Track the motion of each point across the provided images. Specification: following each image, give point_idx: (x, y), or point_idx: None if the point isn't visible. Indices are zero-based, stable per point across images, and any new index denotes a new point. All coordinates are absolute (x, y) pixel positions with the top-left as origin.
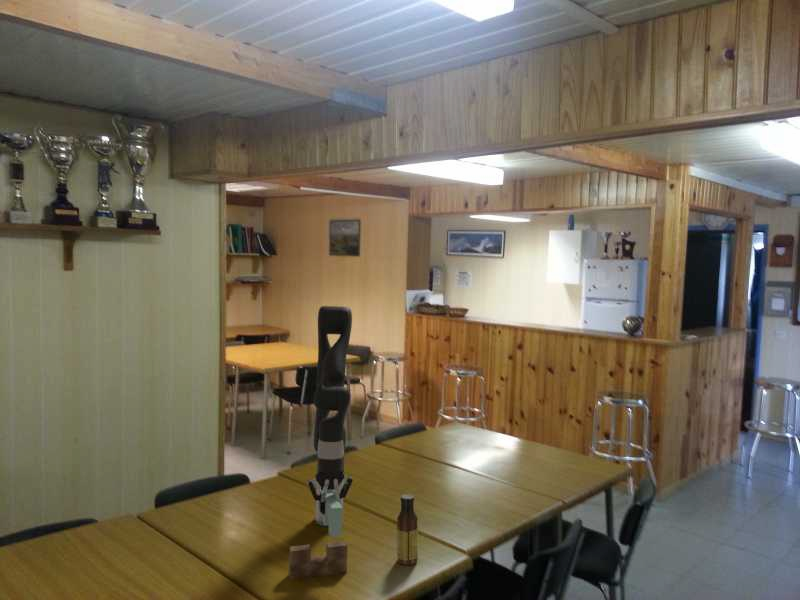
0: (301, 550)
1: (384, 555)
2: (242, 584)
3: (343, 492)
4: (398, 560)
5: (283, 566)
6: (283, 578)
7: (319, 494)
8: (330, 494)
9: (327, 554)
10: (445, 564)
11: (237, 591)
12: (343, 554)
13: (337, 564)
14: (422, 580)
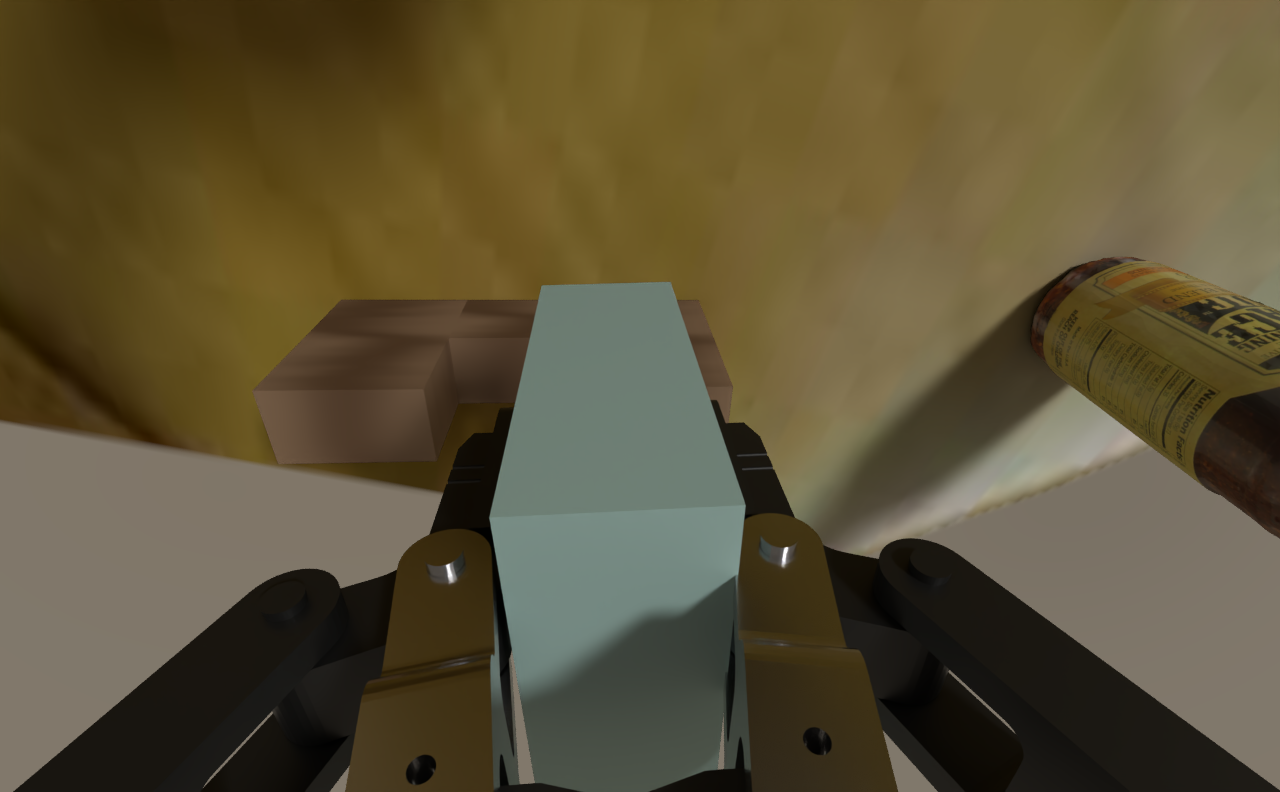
0: (362, 461)
1: (1013, 198)
2: (58, 351)
3: (916, 759)
4: (1037, 319)
5: (288, 181)
6: None
7: (390, 620)
8: (666, 571)
9: None
10: None
11: (58, 415)
12: None
13: None
14: (1013, 496)
